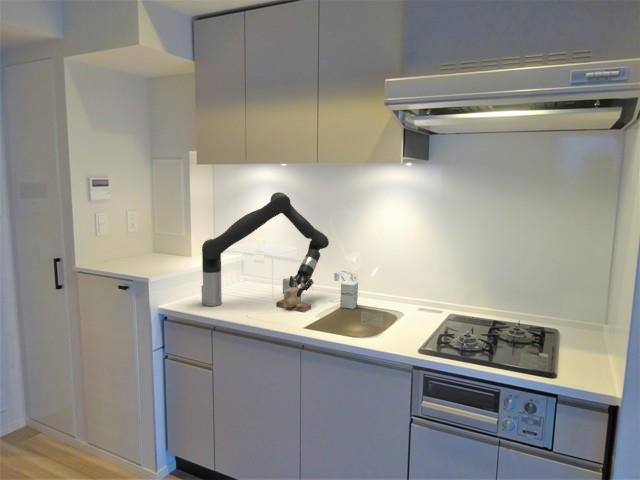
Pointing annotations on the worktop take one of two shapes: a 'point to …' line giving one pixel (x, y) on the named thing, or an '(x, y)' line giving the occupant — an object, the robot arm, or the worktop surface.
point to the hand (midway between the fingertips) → (294, 295)
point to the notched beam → (301, 307)
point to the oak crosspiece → (291, 297)
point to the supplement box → (349, 294)
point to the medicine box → (286, 284)
